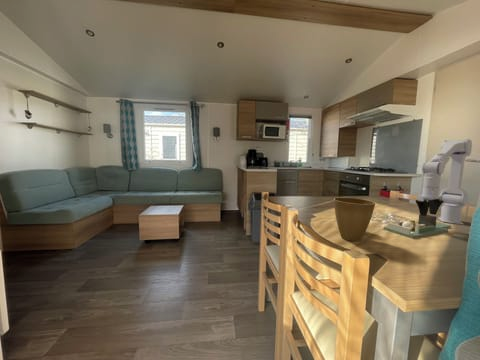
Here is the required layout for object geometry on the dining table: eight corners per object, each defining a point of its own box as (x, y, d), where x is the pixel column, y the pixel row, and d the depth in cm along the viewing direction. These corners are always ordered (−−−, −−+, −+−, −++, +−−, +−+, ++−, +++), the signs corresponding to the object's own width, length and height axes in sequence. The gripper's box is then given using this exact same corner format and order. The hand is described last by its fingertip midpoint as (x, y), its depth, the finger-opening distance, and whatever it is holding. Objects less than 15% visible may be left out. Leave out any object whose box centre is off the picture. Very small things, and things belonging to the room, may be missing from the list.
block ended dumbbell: (423, 223, 101) (424, 214, 101) (435, 227, 96) (436, 216, 96) (404, 226, 96) (405, 216, 96) (416, 230, 91) (418, 219, 91)
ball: (399, 221, 95) (402, 227, 96) (403, 227, 91) (406, 233, 92) (408, 218, 93) (411, 223, 94) (413, 223, 90) (416, 229, 91)
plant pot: (379, 247, 76) (382, 205, 74) (336, 243, 79) (339, 202, 77) (363, 233, 91) (366, 197, 89) (328, 230, 94) (330, 196, 92)
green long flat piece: (428, 222, 109) (429, 216, 108) (459, 229, 97) (459, 223, 97) (383, 229, 96) (384, 223, 96) (412, 238, 85) (413, 231, 85)
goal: (396, 226, 97) (397, 218, 97) (418, 233, 89) (419, 224, 88) (387, 228, 95) (388, 219, 94) (409, 235, 86) (410, 225, 86)
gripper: (430, 185, 102) (427, 211, 104) (411, 186, 97) (408, 214, 99) (448, 187, 96) (444, 215, 97) (429, 188, 91) (426, 218, 92)
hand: (428, 214), depth 97 cm, fingers open, 7 cm apart
